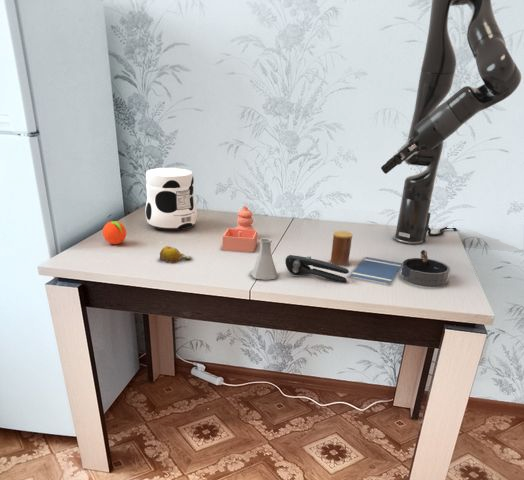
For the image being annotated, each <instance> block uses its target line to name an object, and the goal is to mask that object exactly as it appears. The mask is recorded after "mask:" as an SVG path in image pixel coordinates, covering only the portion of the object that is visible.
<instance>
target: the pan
mask: <svg viewBox="0 0 524 480" xmlns="http://www.w3.org/2000/svg"><path fill="white" fill-rule="evenodd" d="M423 259H424V258H421V257H412V258H407V259H405V260H403V261H402V265H401V270H400V278H401V279H402V280H403V281H405V282H406V283H409V284H412V285H415V286H420V287H427V288H438V287H442V286H445V285H446V284H447V283H448V280H449V276H450V271H451V267H450V266H449V265H448V264H446V263H444V262H443V261H440V260H437V259H431V258H428V259H427V260H428V264H427V265H423V264H422V260H423Z"/></svg>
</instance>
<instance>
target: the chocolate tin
mask: <svg viewBox="0 0 524 480" xmlns="http://www.w3.org/2000/svg"><path fill="white" fill-rule="evenodd" d="M332 236H333V237H332V245H331V255H330V263H331V264H334V265H337V266H340V267H344V266H347V265H349V261H350V254H351V248H352V239H353V233H352V232H350V231H345V230H337V231H333V233H332Z"/></svg>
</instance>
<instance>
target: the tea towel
mask: <svg viewBox="0 0 524 480" xmlns="http://www.w3.org/2000/svg"><path fill="white" fill-rule="evenodd" d="M402 265H403V262H395V261H391V260H385V259H379V258H374V257H368V256H365V258H363V260H362V261H361V262H360V263H359V265H357V267H356V268H355V269H354V270H353V271H352V272H351V274H350V275H349V277H351V278H352V277H353V278H358V279H363V280H368V281H373V282H377V283H378V282H379V283H384V284H388V285H390V283H391V282H392V280H393V279H394V278H395V276H396V275H397V273H398V272H399V270H400V268H402Z"/></svg>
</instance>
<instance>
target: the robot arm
mask: <svg viewBox="0 0 524 480" xmlns="http://www.w3.org/2000/svg"><path fill="white" fill-rule="evenodd" d="M451 6H452V7H453V6H454V7H455V6H468V7H469V9H470V11H471V12H472V13H471V17H470V20H469V22H468V26H467V30H466V38H467V39H466V41H467V43H468V46H469V49H470V51H471V54H472V55H473V58H474V60H475V63H476V67H477V71H478V74H479V76H480V79H481V81H482V82H483V84H482V85H479V86H478V87H472V86H470V85H466V86H463V87H461V88H460V89H459V90H458V91H457V92H455V93H454V94H453V95H451V96H450V97H449V98H448V99H446V101H445V102H443V101H444V99H445V98H446V97H447V96H448V94H449V93H450V91H451V90H452V87H453V82H454V77H455V73H456V69H457V57H456V56H457V55H456V53H455V49H454V46H453V44H452V41H451V38H450V34H449V27H448V23H449V13H450V7H451ZM430 7H431V8H430V15H429V25H428V32H427V38H426V43H425V48H424V49H425V50H424V54H423V59H422V64H421V67H420V73H419V79H418V84H417V92H416V99H415V104H414V110H413V114H412V119H411V123H410V127H409V132H408V135H407V140H406V141H405V143H404V144H403V145H402V146H401V147H400V148H399V149H398V150H397V152H396V153H395V154H394V155H393V156H392V157H390V158H389V160H387V161H386V162H385V163H384V164H383V165H382V166H381V167H380V169H381V171H382V172H383V174H385V175H387V174H388V173H389V172H390V171H392V170H393V169H394V168H396V167H397V166H400V165H402V163H404V162H405V164H406V165H408V166H417V167H426V168H425V169H424V170H422V171H421V172H419V173H417V174H413V175H410V176H409V175H408V176H407V177H406V178H405V179H404V182H403V183H404V184H403V190H402V193H401V194H402V195H401V200H400V207H399V212H398V217H397V223H396V229H395V235H394V240H395V241H396V242H399V243H402V244H407V245H420V244H422V243H423V242H426V238H427V235H428V236H429V237H439V236H443V235H444V231H445V230H449V229H451V230H453V231H455V232H457V231H458V229H457V228H456V227H455V228H447V227H448V226H445V227H442V228H440V229H439V232H438V233H437V232H436V233H432V232H431V231H432V228H431V227H429V226H430V225H429V224H430V221H431V220H430V219H431V212H430V207H431V202H432V197H433V192H434V189H435V188H434V187H435V182H436V177H437V173H438V168H439V165H440V161H441V157H442V154H443V148H444V141H445V140H447V139H448V138H449V137H450V136H452V135H453V134H455V132H457V131H458V130H459V129H460V128H461V127H462V126H463V125H464V124H465V123H467V122H468V121H469V120H470V119H472V118H473V117H474V116H475V115H477V114H478V113H480V112H481V111H484V110H487V109H488V108H491V107H492V106H494V105H496V104H498V103H500V102H502V101H504V100H505V99H507V98H509V97H510V96H511V95H513V93H515V91H516V90H517V89H518V87H519V86H520V84H521V82H522V74H521V73H522V72H521V70H520V69H519V68H518V66H517V64H516V62H515V60H514V59H513V57H512V55H511V54H510V52H509V50H508V48H507V45H506V40H505V38H504V35H503V33H502V31H501V28H500V27H499V25H498V23H497V19H496V18H495V13H494V9H493V5H492V1H491V0H431V6H430Z"/></svg>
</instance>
